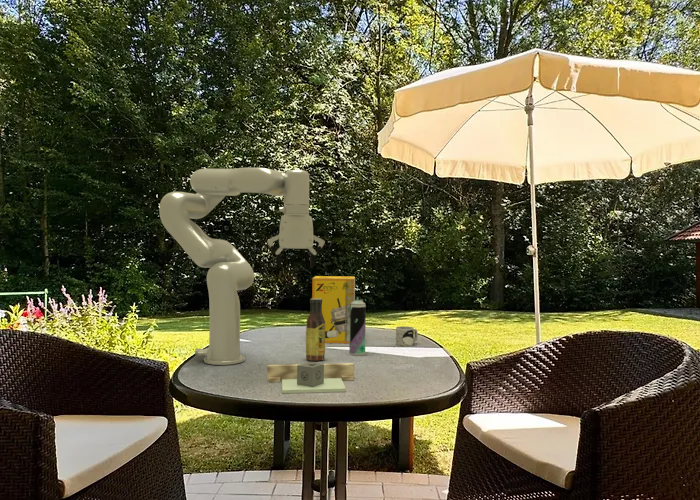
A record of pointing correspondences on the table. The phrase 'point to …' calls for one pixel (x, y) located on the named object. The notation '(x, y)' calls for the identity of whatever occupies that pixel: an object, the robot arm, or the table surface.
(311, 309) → the sauce bottle
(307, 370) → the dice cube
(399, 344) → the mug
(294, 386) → the pad
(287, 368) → the wooden barrier
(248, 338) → the table surface
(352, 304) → the spray can
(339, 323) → the packaging box
